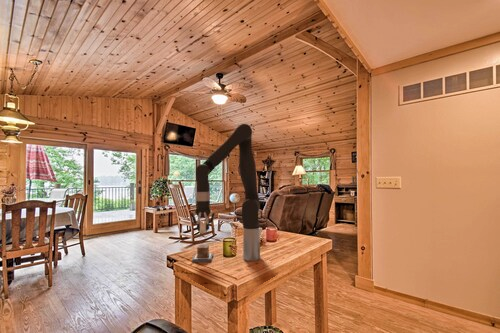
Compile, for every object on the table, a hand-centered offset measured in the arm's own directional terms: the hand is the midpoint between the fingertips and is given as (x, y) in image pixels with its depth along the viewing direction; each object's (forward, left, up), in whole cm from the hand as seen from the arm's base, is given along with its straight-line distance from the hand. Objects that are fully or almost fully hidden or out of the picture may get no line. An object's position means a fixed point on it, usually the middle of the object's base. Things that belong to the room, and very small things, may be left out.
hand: (202, 230), depth 137 cm
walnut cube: (0, 0, -14) cm, 14 cm away
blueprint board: (0, 0, -16) cm, 16 cm away
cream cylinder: (0, 0, -1) cm, 1 cm away
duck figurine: (-33, -31, -16) cm, 48 cm away
